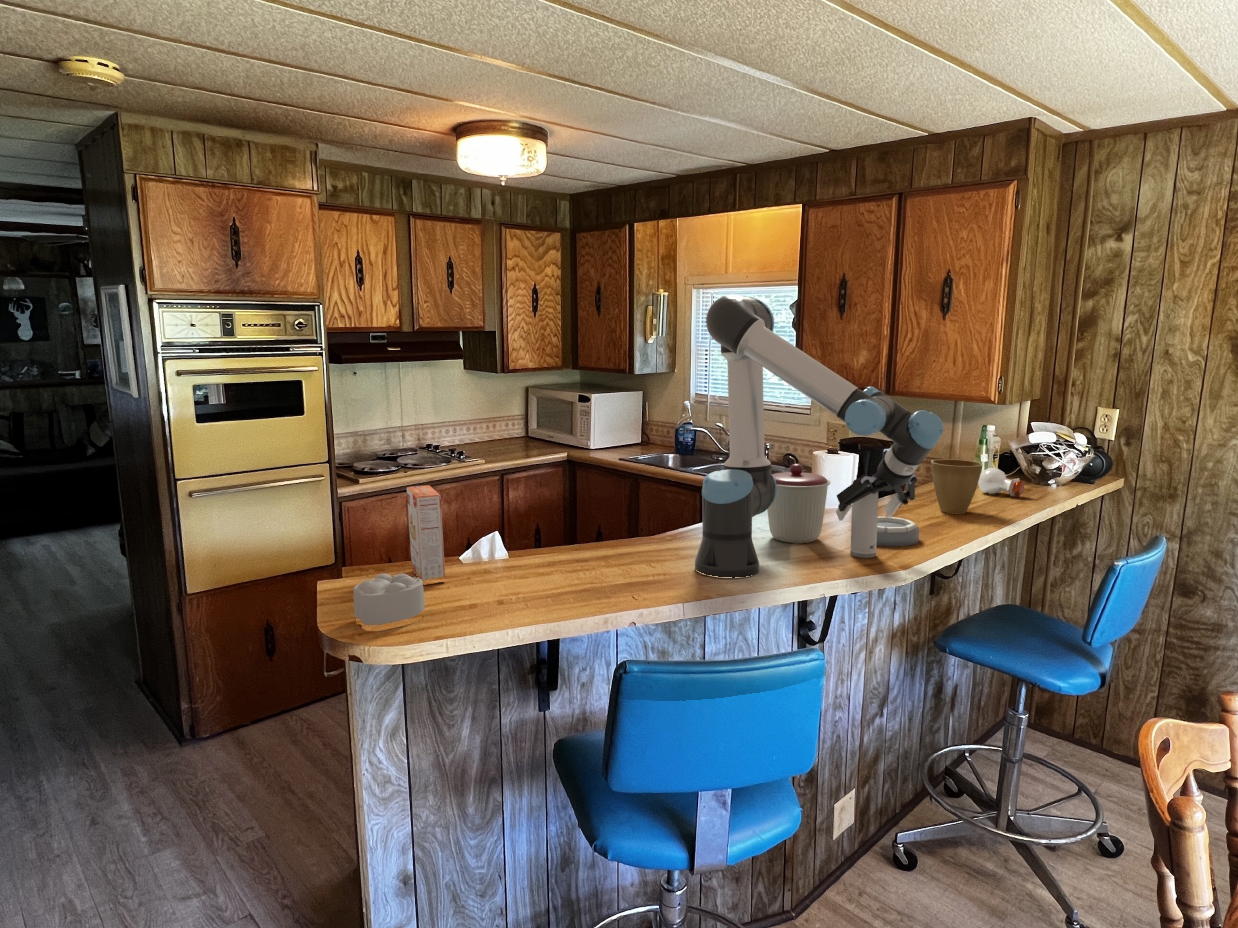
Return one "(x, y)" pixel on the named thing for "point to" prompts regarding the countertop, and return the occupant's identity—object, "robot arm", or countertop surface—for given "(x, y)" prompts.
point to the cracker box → (425, 532)
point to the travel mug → (864, 526)
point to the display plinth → (896, 532)
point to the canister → (798, 506)
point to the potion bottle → (999, 482)
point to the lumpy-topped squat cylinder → (388, 599)
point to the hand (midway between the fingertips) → (863, 514)
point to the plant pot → (955, 483)
